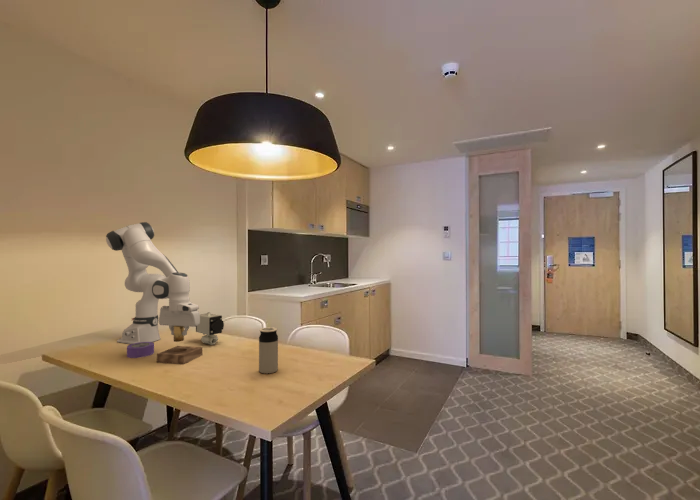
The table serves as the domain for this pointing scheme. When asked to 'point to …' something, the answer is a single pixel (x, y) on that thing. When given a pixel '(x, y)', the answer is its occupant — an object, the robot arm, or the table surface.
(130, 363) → the table surface
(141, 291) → the robot arm
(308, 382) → the table surface
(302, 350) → the table surface
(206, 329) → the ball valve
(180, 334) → the cylinder
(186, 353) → the block
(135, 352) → the tape roll
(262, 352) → the travel mug
